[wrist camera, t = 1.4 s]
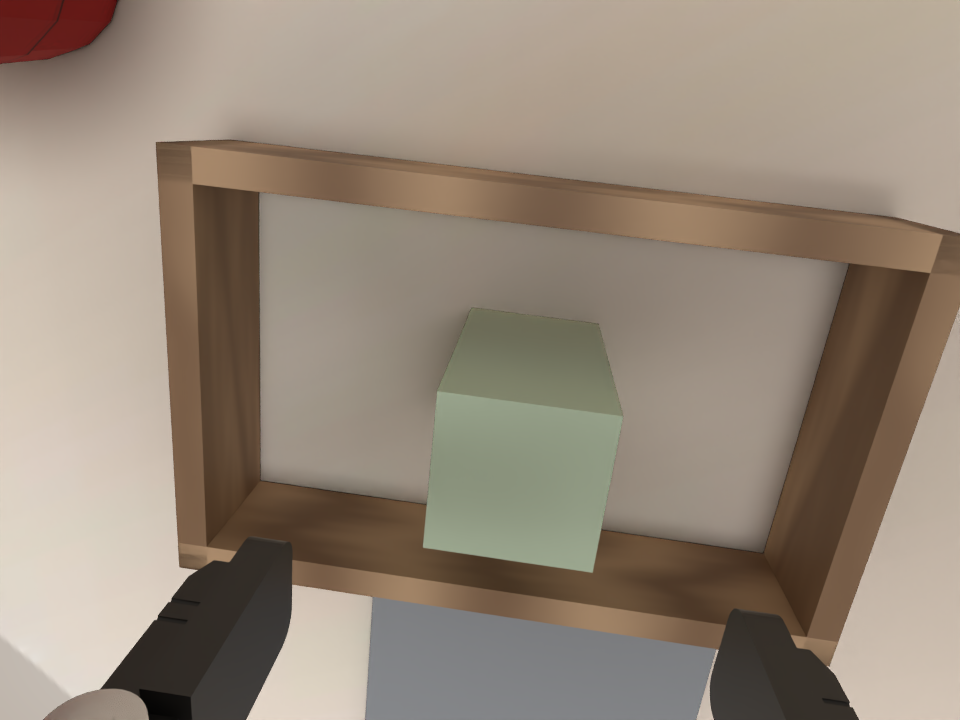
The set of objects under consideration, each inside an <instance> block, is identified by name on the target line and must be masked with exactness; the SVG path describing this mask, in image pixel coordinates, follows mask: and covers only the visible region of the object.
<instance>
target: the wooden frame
mask: <svg viewBox="0 0 960 720" xmlns="http://www.w3.org/2000/svg"><path fill="white" fill-rule="evenodd" d="M156 155H157V173H158V191H159V209H160V227H161V245H162V263H163V281H164V299H165V317H166V335H167V353H168V371H169V389H170V407H171V425H172V443H173V461H174V479H175V497H176V515H177V533H178V551H179V567H181V568H188V569H194V570H199V569H201V568H203V567H204V566H206V565H207V564H209V563H210V562H212V561H213V560H217V561H224V562H230V561H231V559H232V558H233V556H234V555H235V554H236V552H237V551H238V549H239V548H240V547H241V545H242V544H243V542H244V541H245V540H246V539H247V538H248V537H250V536H254V537H260V538H267V539H274V540H281V541H288V542H290V543H291V544H292V550H293V558H292V584H293V585H299V586H306V587H312V588H319V589H326V590H332V591H339V592H345V593H352V594H358V595H365V596H371V597H378V598H385V599H391V600H398V601H404V602H411V603H417V604H424V605H430V606H437V607H444V608H450V609H457V610H463V611H470V612H476V613H483V614H489V615H496V616H503V617H509V618H516V619H522V620H529V621H535V622H542V623H548V624H555V625H561V626H568V627H575V628H581V629H588V630H594V631H601V632H607V633H614V634H620V635H627V636H634V637H640V638H647V639H653V640H660V641H666V642H673V643H679V644H686V645H693V646H699V647H706V648H712V649H719V648H720V644H721V641H722V637H723V634H724V630H725V627H726V624H727V620H728V617H729V615H730V613H731V611H732V610H733V609H735V608H737V609H744V610H750V611H757V612H764V613H771V614H777V615H779V616H780V617H781V618H782V619H783V621H784V623H785V625H786V627H787V629H788V631H789V633H790V635H791V637H792V639H793V641H794V643H795V645H796V647H797V648H801V649H808V650H811V651H812V652H813V653H814V654H815V655H816V656H817V657H818V658H819V659H820V660H821V661H822V662H823V663H824V664H825V665H826V666H830V663H831V660H832V658H833V655H834V652H835V649H836V647H837V644H838V641H839V638H840V635H841V633H842V630H843V627H844V624H845V622H846V619H847V616H848V613H849V611H850V608H851V605H852V602H853V599H854V597H855V594H856V591H857V588H858V586H859V583H860V580H861V577H862V575H863V572H864V569H865V566H866V563H867V561H868V558H869V555H870V552H871V550H872V547H873V544H874V541H875V539H876V536H877V533H878V530H879V527H880V525H881V522H882V519H883V516H884V514H885V511H886V508H887V505H888V503H889V500H890V497H891V494H892V492H893V489H894V486H895V483H896V480H897V478H898V475H899V472H900V469H901V467H902V464H903V461H904V458H905V456H906V453H907V450H908V447H909V444H910V442H911V439H912V436H913V433H914V431H915V428H916V425H917V422H918V420H919V417H920V414H921V411H922V408H923V406H924V403H925V400H926V397H927V395H928V392H929V389H930V386H931V384H932V381H933V378H934V375H935V372H936V370H937V367H938V364H939V361H940V359H941V356H942V353H943V350H944V348H945V345H946V342H947V339H948V337H949V334H950V331H951V328H952V325H953V323H954V320H955V317H956V314H957V312H958V309H959V306H960V234H959V233H956V232H952V231H948V230H944V229H940V228H936V227H932V226H928V225H924V224H920V223H916V222H912V221H908V220H904V219H900V218H896V217H887V216H879V215H870V214H862V213H853V212H844V211H836V210H827V209H819V208H810V207H802V206H793V205H784V204H776V203H767V202H759V201H750V200H742V199H733V198H725V197H716V196H707V195H699V194H690V193H682V192H673V191H665V190H656V189H647V188H639V187H630V186H622V185H613V184H605V183H596V182H587V181H579V180H570V179H562V178H553V177H545V176H536V175H528V174H519V173H510V172H502V171H493V170H485V169H476V168H468V167H459V166H450V165H442V164H433V163H425V162H416V161H408V160H399V159H390V158H382V157H373V156H365V155H356V154H348V153H339V152H331V151H322V150H313V149H305V148H296V147H288V146H279V145H271V144H262V143H253V142H245V141H236V140H206V141H176V142H156ZM259 192H264V193H272V194H281V195H289V196H297V197H305V198H314V199H322V200H330V201H339V202H347V203H355V204H363V205H372V206H380V207H388V208H396V209H405V210H413V211H421V212H430V213H438V214H446V215H454V216H463V217H471V218H479V219H488V220H496V221H504V222H512V223H521V224H529V225H537V226H546V227H554V228H562V229H570V230H579V231H587V232H595V233H604V234H612V235H620V236H628V237H637V238H645V239H653V240H661V241H670V242H678V243H686V244H695V245H703V246H711V247H719V248H728V249H736V250H744V251H753V252H761V253H769V254H777V255H786V256H794V257H802V258H811V259H819V260H827V261H835V262H844V263H850V265H849V268H848V271H847V275H846V278H845V281H844V285H843V288H842V291H841V295H840V298H839V302H838V305H837V308H836V312H835V315H834V318H833V322H832V325H831V328H830V332H829V335H828V339H827V342H826V345H825V349H824V352H823V355H822V359H821V362H820V366H819V369H818V372H817V376H816V379H815V382H814V386H813V389H812V392H811V396H810V399H809V403H808V406H807V409H806V413H805V416H804V419H803V423H802V426H801V429H800V433H799V436H798V440H797V443H796V446H795V450H794V453H793V456H792V460H791V463H790V466H789V470H788V473H787V477H786V480H785V483H784V487H783V490H782V493H781V497H780V500H779V504H778V507H777V510H776V514H775V517H774V520H773V524H772V527H771V530H770V534H769V537H768V541H767V544H766V547H765V551H764V554H763V553H756V552H749V551H742V550H735V549H728V548H722V547H715V546H708V545H701V544H694V543H687V542H680V541H673V540H666V539H659V538H652V537H645V536H638V535H632V534H625V533H618V532H611V531H604V530H601V533H600V538H599V543H598V548H597V553H596V558H595V563H594V568H593V573H591V572H584V571H578V570H571V569H564V568H557V567H551V566H544V565H537V564H530V563H524V562H517V561H510V560H503V559H496V558H490V557H483V556H476V555H469V554H463V553H456V552H449V551H442V550H436V549H429V548H423V541H424V530H425V519H426V508H427V505H424V504H417V503H410V502H403V501H396V500H389V499H382V498H375V497H369V496H362V495H355V494H348V493H341V492H334V491H327V490H320V489H313V488H306V487H299V486H292V485H285V484H279V483H272V482H265V481H260V347H259Z"/></svg>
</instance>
